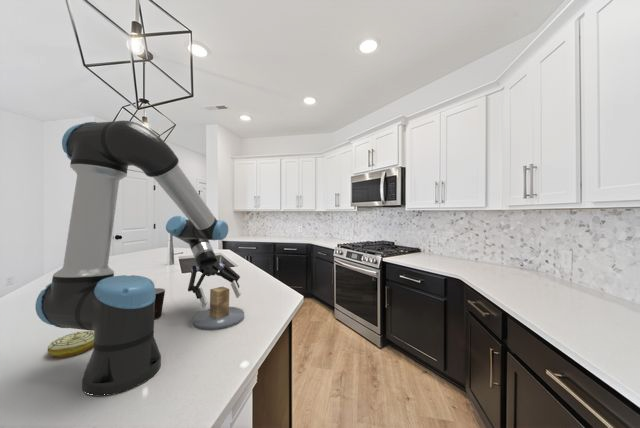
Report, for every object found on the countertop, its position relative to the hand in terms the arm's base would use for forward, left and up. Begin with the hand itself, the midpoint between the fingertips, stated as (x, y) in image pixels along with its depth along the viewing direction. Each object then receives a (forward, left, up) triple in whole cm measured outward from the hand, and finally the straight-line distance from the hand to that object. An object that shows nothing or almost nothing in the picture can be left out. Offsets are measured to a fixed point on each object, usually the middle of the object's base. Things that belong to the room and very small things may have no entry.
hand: (223, 300), depth 92 cm
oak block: (0, +2, -6) cm, 7 cm away
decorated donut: (-38, +14, -8) cm, 41 cm away
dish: (0, +2, -8) cm, 8 cm away
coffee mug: (-17, +24, -8) cm, 31 cm away
